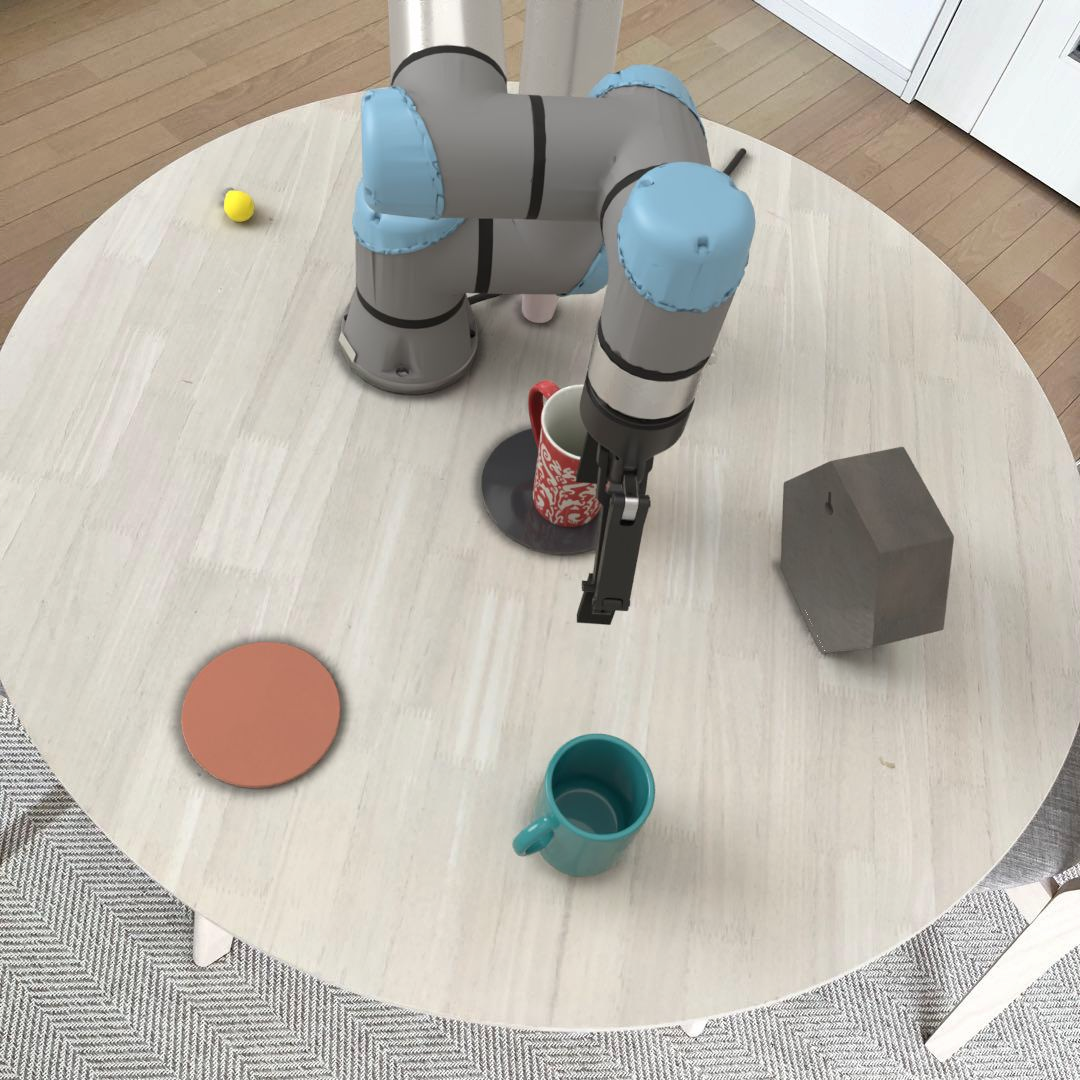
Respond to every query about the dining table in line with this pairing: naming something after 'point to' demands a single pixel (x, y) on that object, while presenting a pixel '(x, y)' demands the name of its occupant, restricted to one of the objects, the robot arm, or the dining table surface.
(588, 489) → the mug
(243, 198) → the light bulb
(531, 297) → the smoothie
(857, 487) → the dark grey boxy piece
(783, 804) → the dining table surface
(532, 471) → the coaster slate
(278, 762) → the coaster terracotta
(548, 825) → the cup
